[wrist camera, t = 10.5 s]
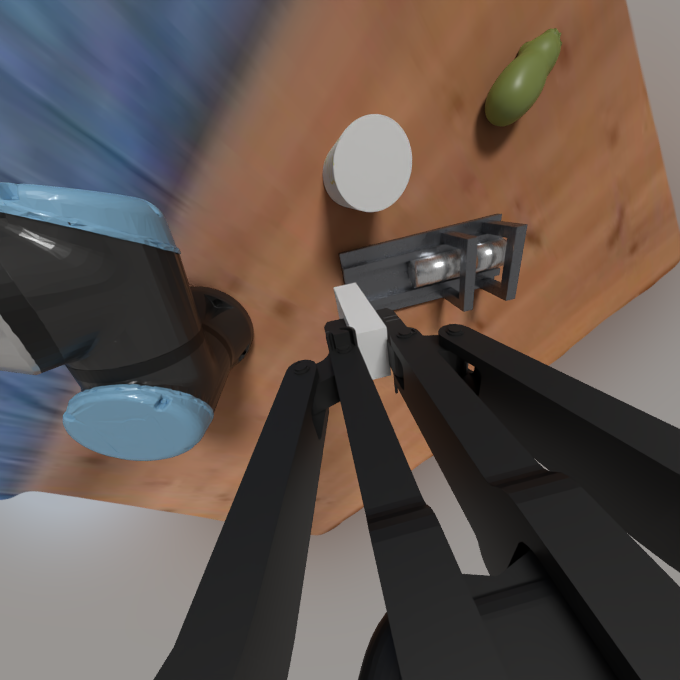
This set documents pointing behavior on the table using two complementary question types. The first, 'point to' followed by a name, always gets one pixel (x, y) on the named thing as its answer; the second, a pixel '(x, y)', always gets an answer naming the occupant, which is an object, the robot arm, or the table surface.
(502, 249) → the tube
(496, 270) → the collar rail
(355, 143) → the white cylinder
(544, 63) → the pear
